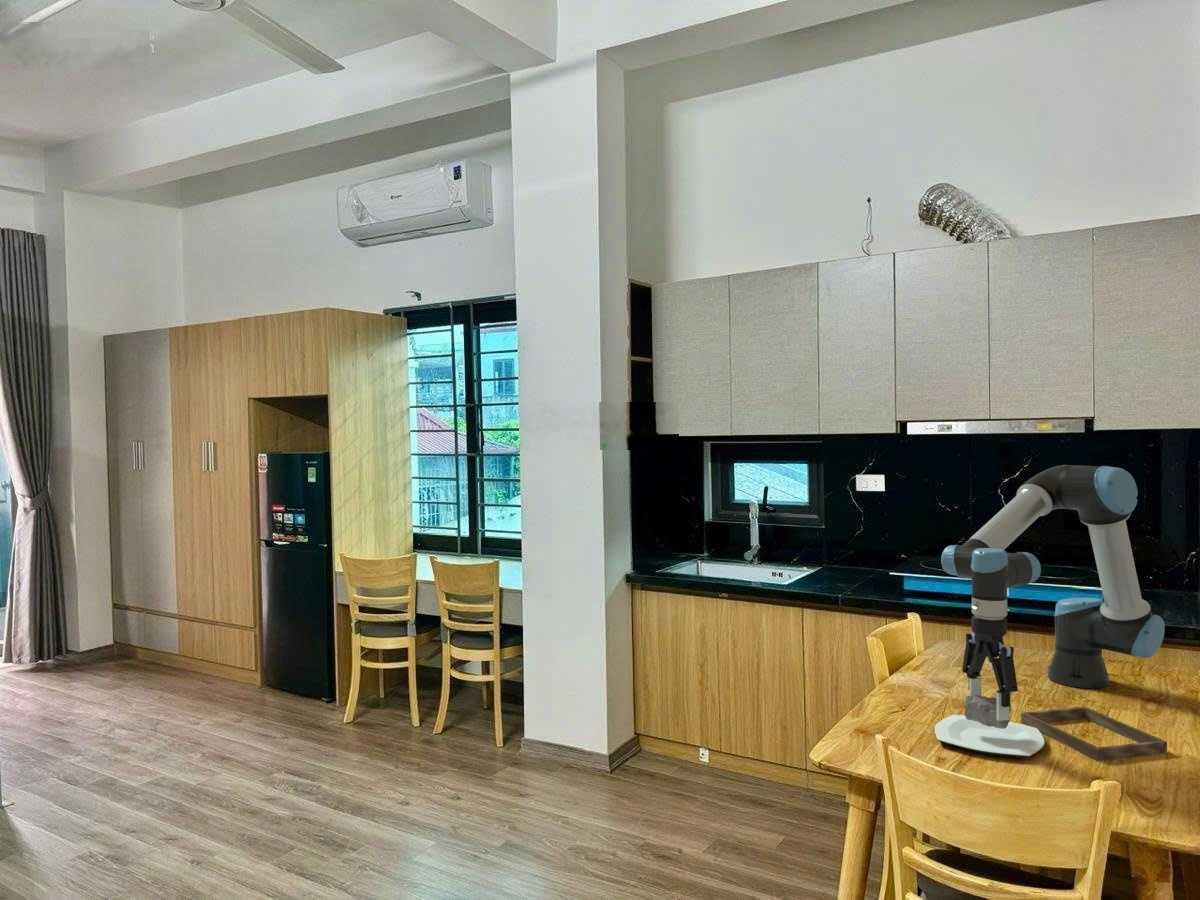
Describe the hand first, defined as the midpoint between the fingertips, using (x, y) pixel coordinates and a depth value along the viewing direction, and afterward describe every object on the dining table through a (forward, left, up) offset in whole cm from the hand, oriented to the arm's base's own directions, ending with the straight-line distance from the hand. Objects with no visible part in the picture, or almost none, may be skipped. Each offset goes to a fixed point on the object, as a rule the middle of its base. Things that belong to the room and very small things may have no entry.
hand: (988, 712), depth 199 cm
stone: (0, -1, -3) cm, 3 cm away
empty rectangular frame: (-24, +4, -6) cm, 25 cm away
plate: (0, 0, -7) cm, 7 cm away
